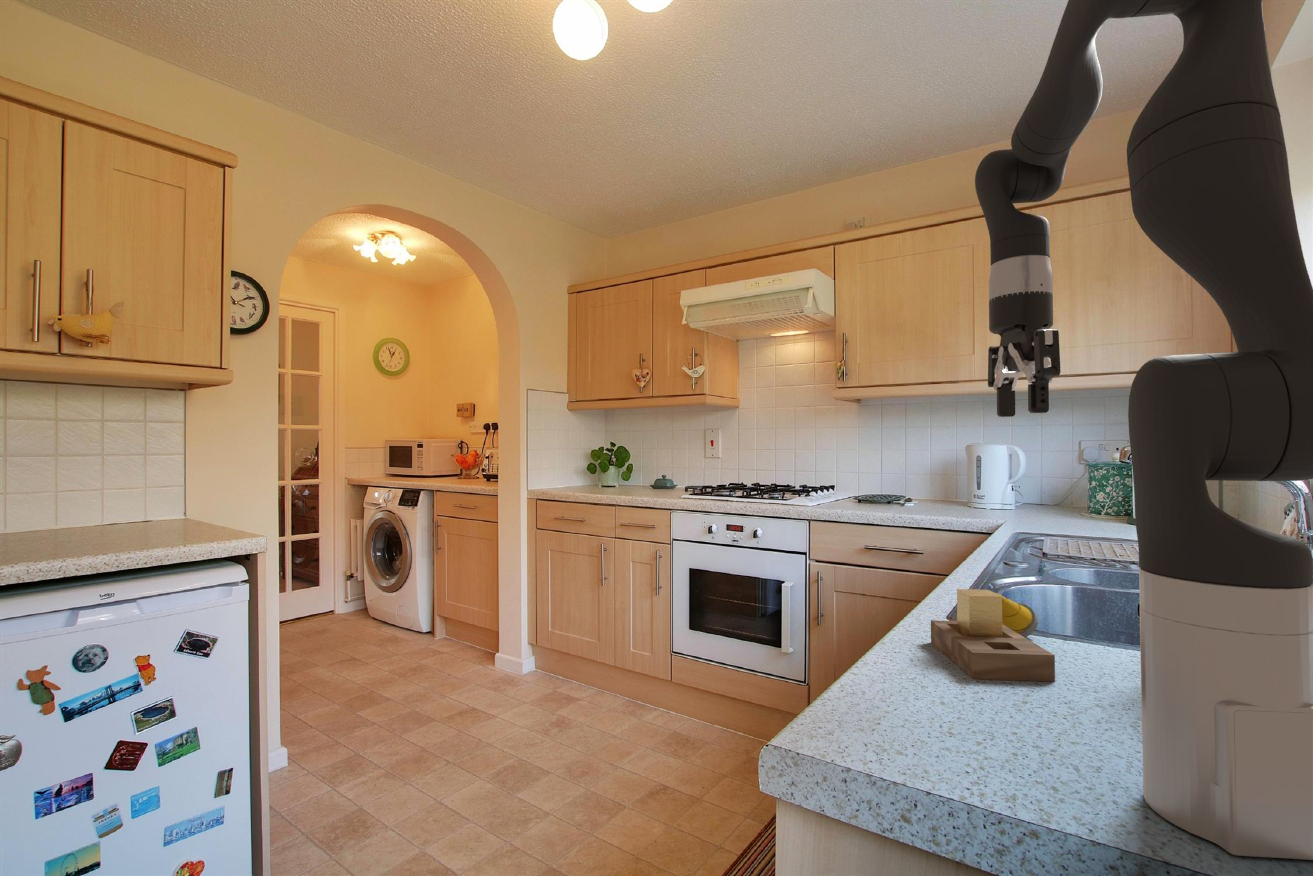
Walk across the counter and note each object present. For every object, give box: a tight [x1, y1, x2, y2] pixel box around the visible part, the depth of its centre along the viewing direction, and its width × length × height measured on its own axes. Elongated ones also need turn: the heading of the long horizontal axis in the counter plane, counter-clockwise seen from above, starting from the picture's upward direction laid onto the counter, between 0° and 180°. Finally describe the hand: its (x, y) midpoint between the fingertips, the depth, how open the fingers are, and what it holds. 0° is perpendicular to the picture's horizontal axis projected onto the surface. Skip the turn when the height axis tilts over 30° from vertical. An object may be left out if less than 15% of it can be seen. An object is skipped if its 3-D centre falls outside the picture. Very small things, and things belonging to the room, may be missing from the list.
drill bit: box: [995, 592, 1039, 638], centre depth 87 cm, size 5×5×10 cm
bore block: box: [930, 619, 1056, 683], centre depth 78 cm, size 14×9×3 cm, turn 175°
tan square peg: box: [956, 588, 1003, 638], centre depth 80 cm, size 4×4×8 cm
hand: (1021, 414), depth 84 cm, fingers open, 8 cm apart
